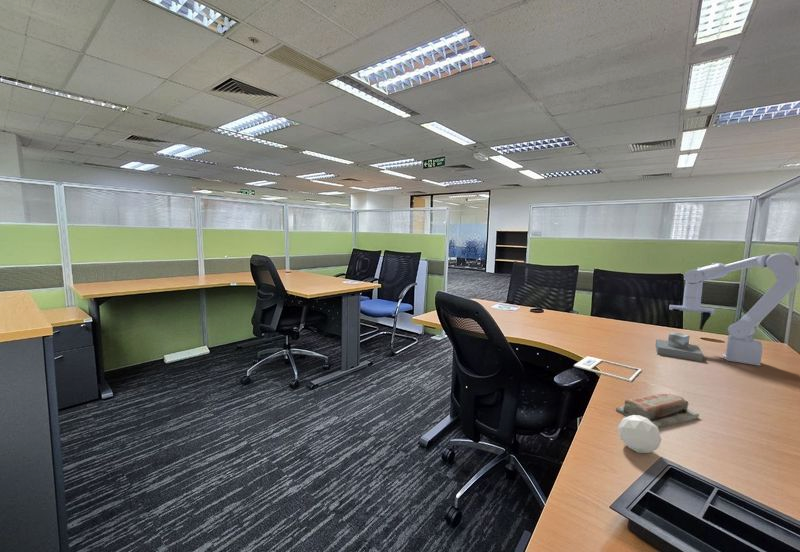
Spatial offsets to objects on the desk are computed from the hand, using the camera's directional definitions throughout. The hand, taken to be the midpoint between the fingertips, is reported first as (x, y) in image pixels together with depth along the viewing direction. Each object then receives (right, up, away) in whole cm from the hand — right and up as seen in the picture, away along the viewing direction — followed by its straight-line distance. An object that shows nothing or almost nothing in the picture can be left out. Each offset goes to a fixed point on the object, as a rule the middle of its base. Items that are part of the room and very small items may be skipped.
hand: (689, 327), depth 144 cm
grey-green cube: (-9, -7, -5) cm, 13 cm away
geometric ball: (-73, -17, -70) cm, 102 cm away
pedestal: (-9, -10, -5) cm, 14 cm away
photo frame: (-50, -12, -22) cm, 56 cm away
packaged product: (-57, -16, -54) cm, 80 cm away
